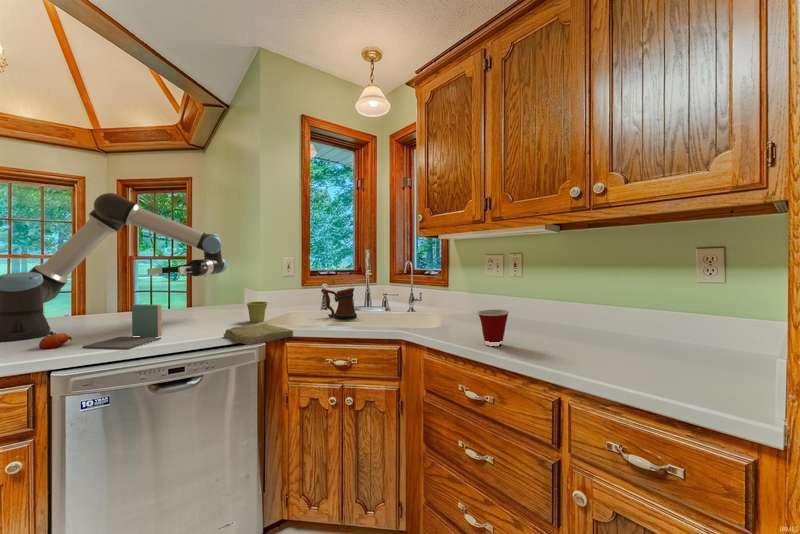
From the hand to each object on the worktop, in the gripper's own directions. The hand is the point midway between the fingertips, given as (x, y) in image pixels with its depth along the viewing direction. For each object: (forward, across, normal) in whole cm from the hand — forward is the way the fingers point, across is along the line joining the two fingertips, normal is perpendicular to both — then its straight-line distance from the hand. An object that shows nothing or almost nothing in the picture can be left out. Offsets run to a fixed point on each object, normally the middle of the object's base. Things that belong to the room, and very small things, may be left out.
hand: (163, 271), depth 140 cm
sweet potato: (+28, +18, -22) cm, 40 cm away
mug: (-42, -58, -29) cm, 77 cm away
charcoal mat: (+21, 0, -23) cm, 31 cm away
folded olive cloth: (+4, -40, -27) cm, 48 cm away
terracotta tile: (+11, 0, -24) cm, 26 cm away
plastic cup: (+4, -127, -32) cm, 131 cm away
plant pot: (-25, -23, -27) cm, 44 cm away
